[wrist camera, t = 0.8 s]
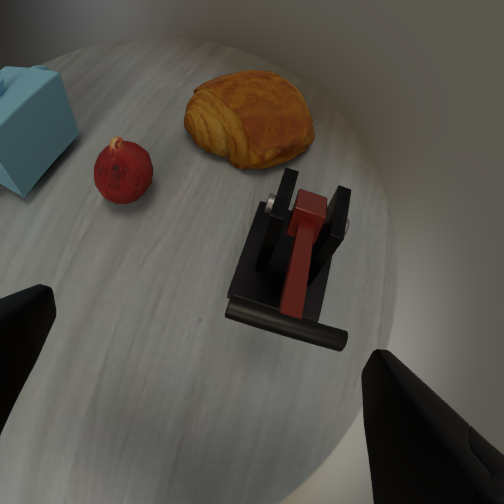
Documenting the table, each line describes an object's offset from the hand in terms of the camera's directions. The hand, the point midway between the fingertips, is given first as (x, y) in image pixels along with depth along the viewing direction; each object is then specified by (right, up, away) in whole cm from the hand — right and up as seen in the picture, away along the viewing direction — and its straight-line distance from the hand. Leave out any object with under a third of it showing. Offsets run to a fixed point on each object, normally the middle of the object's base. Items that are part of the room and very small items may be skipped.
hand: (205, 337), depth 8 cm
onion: (-11, +8, +24) cm, 27 cm away
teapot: (-30, +15, +25) cm, 42 cm away
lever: (+4, +1, +12) cm, 13 cm away
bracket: (+4, +1, +22) cm, 23 cm away
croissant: (+1, +17, +30) cm, 34 cm away
